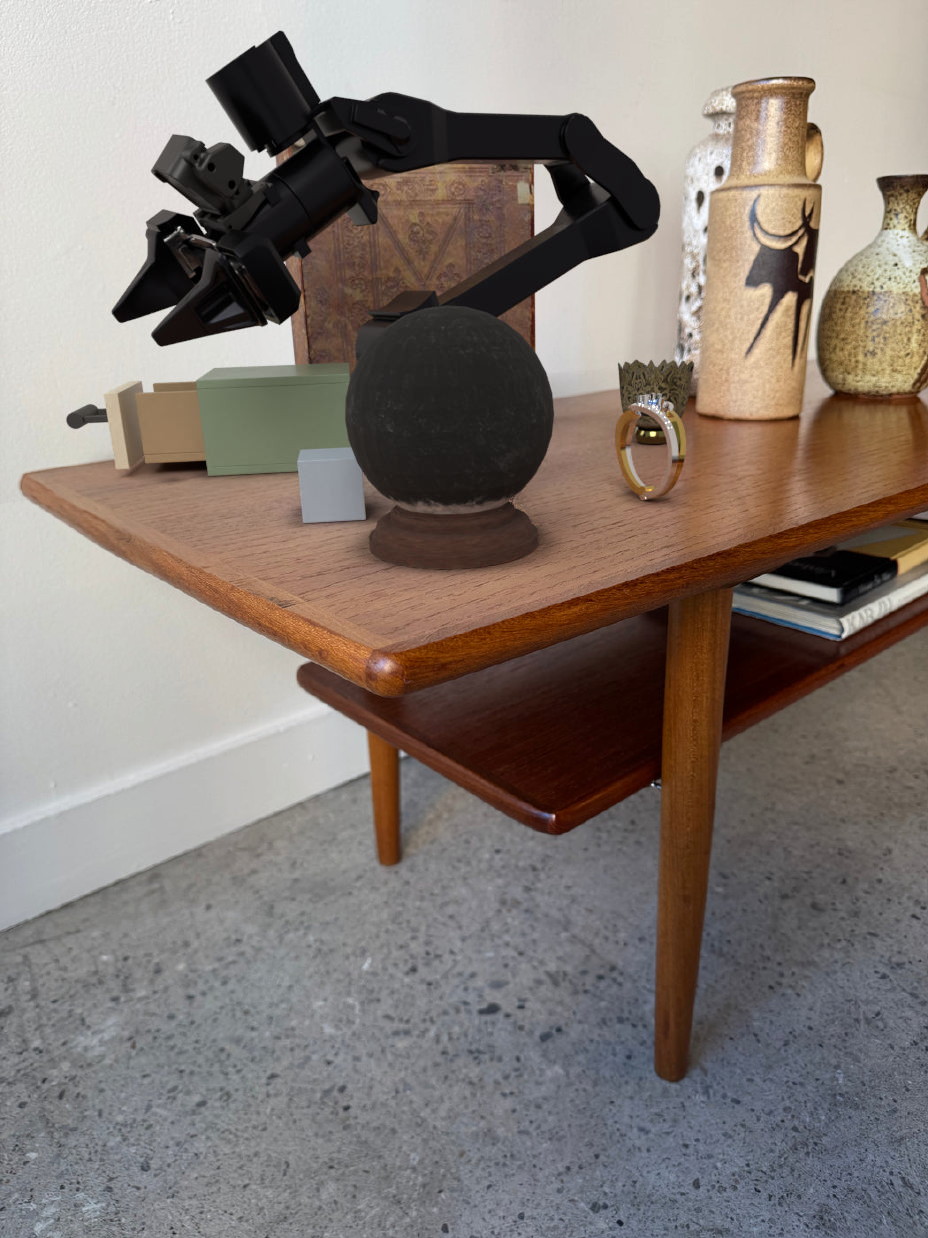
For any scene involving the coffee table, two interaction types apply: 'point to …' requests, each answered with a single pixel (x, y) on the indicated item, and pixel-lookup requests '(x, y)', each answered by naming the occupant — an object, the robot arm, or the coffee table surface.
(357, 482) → the block
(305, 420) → the cabinet
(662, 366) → the cup
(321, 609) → the coffee table surface
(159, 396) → the drawer
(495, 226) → the book
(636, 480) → the ring
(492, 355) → the black ball on stand
